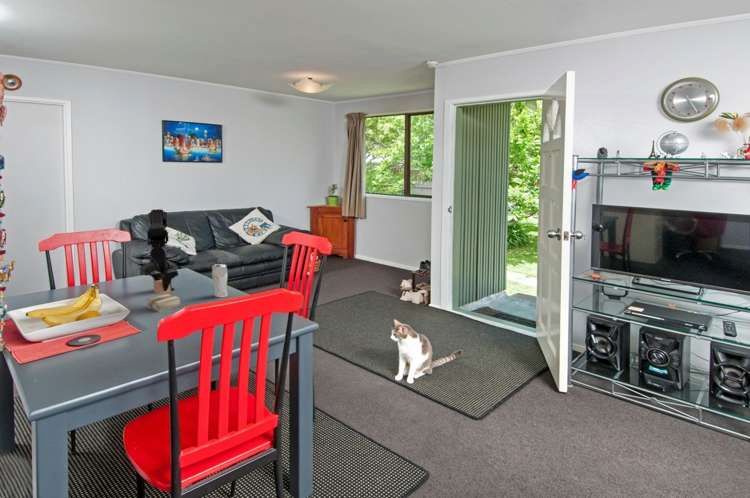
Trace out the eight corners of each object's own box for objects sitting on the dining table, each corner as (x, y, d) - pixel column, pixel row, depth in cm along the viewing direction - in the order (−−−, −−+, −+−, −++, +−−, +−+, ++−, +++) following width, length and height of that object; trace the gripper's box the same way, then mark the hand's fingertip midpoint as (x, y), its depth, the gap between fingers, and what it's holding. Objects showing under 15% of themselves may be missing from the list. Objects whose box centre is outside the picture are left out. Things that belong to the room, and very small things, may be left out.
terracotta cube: (154, 292, 213) (153, 281, 212) (164, 289, 217) (163, 279, 216) (160, 294, 210) (159, 283, 209) (170, 291, 214) (169, 280, 213)
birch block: (147, 307, 214) (146, 298, 213) (168, 302, 222) (167, 293, 221) (159, 311, 208) (158, 303, 207) (180, 306, 216) (179, 297, 215)
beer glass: (224, 298, 228) (222, 267, 225) (211, 297, 229) (208, 266, 226) (231, 294, 234) (229, 264, 231) (218, 293, 236) (216, 263, 233)
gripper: (130, 256, 210) (133, 290, 213) (152, 261, 199) (156, 297, 202) (154, 251, 218) (157, 284, 221) (177, 257, 207) (180, 291, 210)
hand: (162, 289), depth 213 cm, fingers closed on terracotta cube, 5 cm apart
